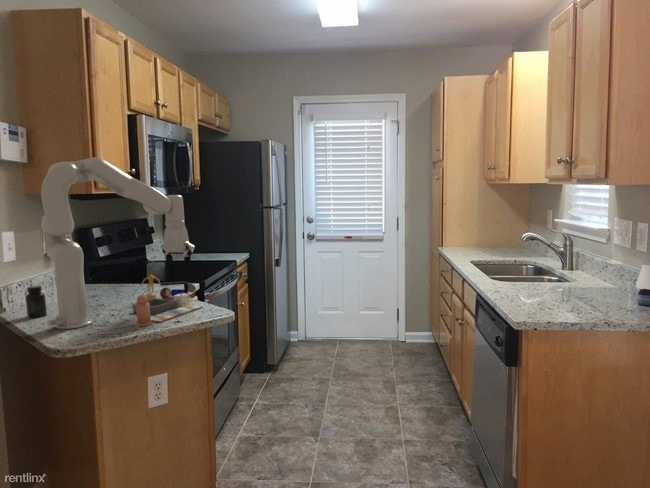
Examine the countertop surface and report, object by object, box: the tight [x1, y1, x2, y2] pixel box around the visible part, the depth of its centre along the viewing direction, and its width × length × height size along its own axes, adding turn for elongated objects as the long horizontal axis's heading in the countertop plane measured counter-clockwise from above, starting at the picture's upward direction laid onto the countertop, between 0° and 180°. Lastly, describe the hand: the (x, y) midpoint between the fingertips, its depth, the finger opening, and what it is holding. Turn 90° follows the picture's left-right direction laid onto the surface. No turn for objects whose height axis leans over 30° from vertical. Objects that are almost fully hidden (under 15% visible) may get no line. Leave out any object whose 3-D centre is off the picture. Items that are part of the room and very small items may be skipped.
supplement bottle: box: [25, 285, 48, 319], centre depth 210 cm, size 7×7×12 cm
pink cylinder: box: [135, 294, 153, 328], centre depth 190 cm, size 5×5×11 cm
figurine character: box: [159, 280, 197, 299], centre depth 236 cm, size 7×8×15 cm
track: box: [150, 304, 204, 324], centre depth 205 cm, size 24×8×1 cm, turn 154°
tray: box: [132, 298, 178, 315], centre depth 214 cm, size 12×12×3 cm
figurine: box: [140, 274, 161, 300], centre depth 229 cm, size 8×6×12 cm
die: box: [172, 293, 191, 308], centre depth 220 cm, size 5×5×5 cm
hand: (178, 265), depth 219 cm, fingers open, 9 cm apart
